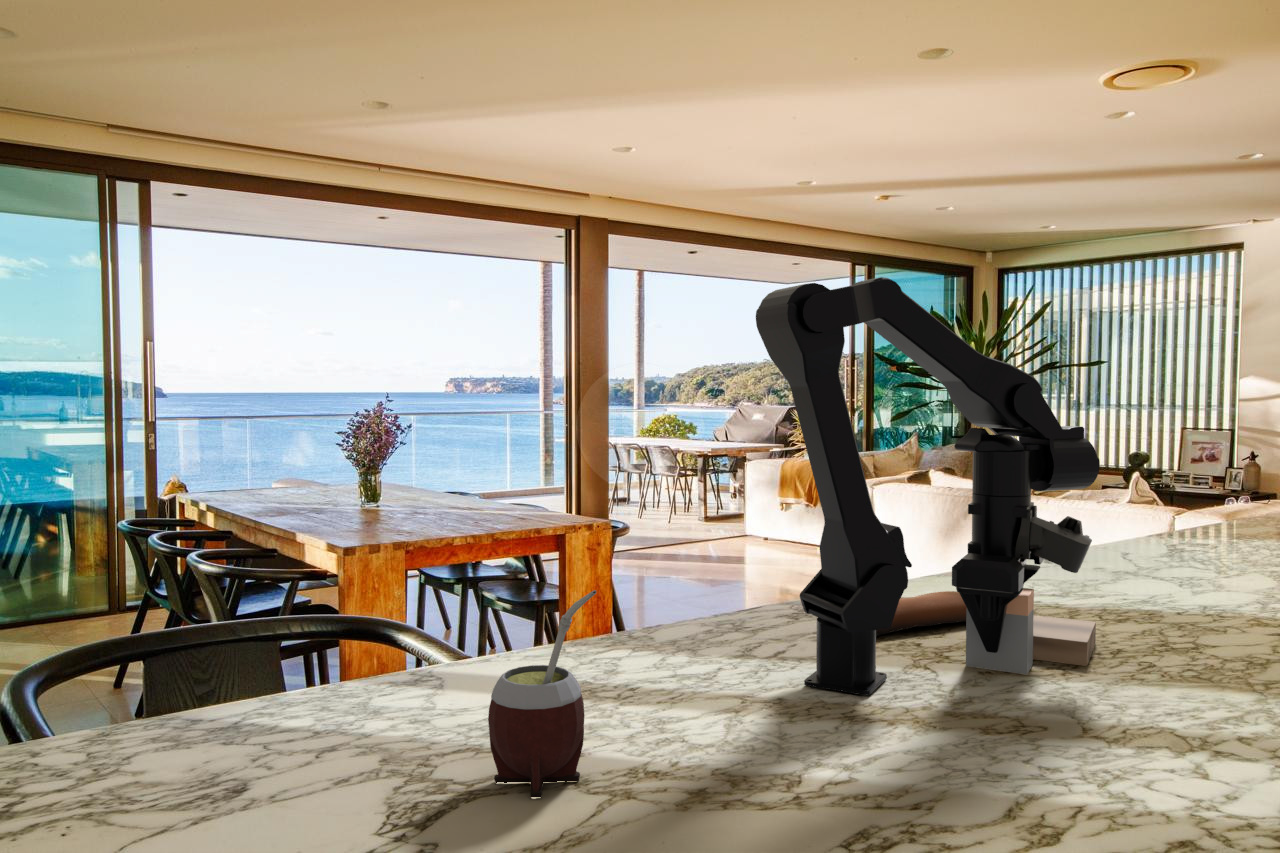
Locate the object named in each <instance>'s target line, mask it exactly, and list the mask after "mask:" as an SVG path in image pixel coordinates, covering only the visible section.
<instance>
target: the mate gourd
mask: <svg viewBox="0 0 1280 853" xmlns="http://www.w3.org/2000/svg"><path fill="white" fill-rule="evenodd" d="M596 594H597V590H596V589H595V590H592V591H591V592H589V593H587V594H586V595H584V596H582V597H581V598H579V600H577V601H575V602H574V603H573V604H572V605H570V607H569V608H568V610H567V611H566V612H565V614H563V615H562V616H561V618H560V620H559V623H558V626H557V629H558V630H557V635H556V639H555V643H554V645H553V649H552V653H551V656H550V658H549V659H550V660H549V662H548V665H547V664H535V665H534V664H532V665H525V666H524V665H523V666H517V667H515V668H511V669H509V670H507V671H506V672H504V673H502V674H501V675H500V676H499V678H498V680H497V681H496V683H495V685H494V687H493V688H492V691H491V698H490V703H489V709H488V732H489V733H488V734H489V743H490V751H491V754H492V757H493V761H494V764H495V767H496V771H497V774H494V776H493V779H494V783H495V782H496V783H497V782H504V783H507V782H531V785H530V789H529V794H530V796H529V798H530V797H541V795H542V796H543V787H542V785H543V786H544V784H543V782H557V781H565V782H567V781H579V782H580V777H581V772H579V771H577V768H578V765H579V761H580V758H581V754H582V750H583V746H584V737H585V736H584V735H585V705H584V698H583V694H582V688H581V685H580V683H579V682H578V680H577V679H576V677H575V676H574V675H573V673H572V672H571V671H569V670H568V669H567V668H564V667H562V666H561V667H560V666H557V664H558V662H559V661H558V660H559V657H560V655H561V654H560V653H561V650H562V647H563V644H564V641H565V638H566V637H565V636H566V635H567V634H566V633H567V632H568V631H569V630H570V627H571V624H572V621H573V616H574V615H575V614H576V612H577V611H579V609H580V608H581V607H583V605H584V604H586V603H587V602H588V601H589V600H591V598H592V597H594V596H595V595H596ZM541 798H542V797H541Z"/></svg>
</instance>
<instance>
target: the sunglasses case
mask: <svg viewBox="0 0 1280 853" xmlns="http://www.w3.org/2000/svg"><path fill="white" fill-rule="evenodd" d="M961 622H966V605H965V603H964V601H963V599H962V597H961V595H960V593H959V592H957V590H956V591H950V590H948V591H947V590H946V591H937V592H929V593H923V594H920V595H919V594H918V595H917V596H912V597H901V598H900V600H899V603H898V606H897V609H896V612H895V616H894V619H893V622H892V625H891V628H889V629H881V630H876V637H878V636H881V635H886V634H889V633H894V632H895V633H896V632H899V631H901V630H908V629H913V628H914V627H919V628H920V627H926V626H927V627H928V626H937V625H941V624H954V623H961Z"/></svg>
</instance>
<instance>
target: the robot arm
mask: <svg viewBox="0 0 1280 853" xmlns="http://www.w3.org/2000/svg"><path fill="white" fill-rule="evenodd" d="M755 322H756V324H755V325H756V327H757V331H758V334H759V336H760V338H761V340H762V343H763V344H764V347H765V349H766V351H767V354H768V357H769V358H770V360H772V362H773V363H774V365H775V366H776V368H777V369H778V370H779V372H780V373H781V374H782V376H783V377H784V378H785V380H786V382H788V385H789V388H790V390H791V396H792V399H793V403H794V406H795V410H796V414H797V418H798V422H799V426H800V429H801V434H802V437H803V441H804V445H805V449H806V452H807V457H808V460H809V464H810V469H811V471H812V476H813V479H814V484H815V487H816V490H817V491H816V492H817V494H818V498H819V502H820V507H821V511H822V515H823V519H824V523H823V524H824V525H823V530H822V534H821V537H820V538H821V539H820V543H819V556H820V566H821V569H819V571H817V573H816V574H815V575H814V577H813V578H811V580H810V581H809V582H808V584H806V586H805V587H804V588H803V590H802V591H801V592H800V593H799V599H800V601H801V602H800V603H801V605H802V609H803V611H804V613H805V614H808V615H812V616H814V617H817V618H816V669H815V671H814V672H813V673H812V674H810V675H809V676H807V677H806V678H805V679H804V681H803V682H804V686H807V687H812V688H813V687H814V688H819V689H826V690H830V691H838V692H843V693H850V694H856V695H862V696H869V695H871V694H872V693H873V692H874V691H875V690H876V689H877V688H879V687H880V686H881V684H883V683H884V682H885V680H887V676H888V674H887V673H886V672H881V671H880V672H879V671H877V669H876V668H877V666H876V665H877V664H876V663H877V661H876V659H877V658H876V656H877V636H876V630H881V629H889V628H891V625H892V622H893V619H894V616H895V612H896V609H897V606H898V603H899V600H900V598H902V596H903V594H904V593H905V592H904V591H905V590H907V588H908V585H909V574H908V573H909V572H908V570H907V568H912V566H913V564H912V563H911V562H910V560H909V558H908V556H907V553H906V549H905V543H904V542H905V540H904V534H903V532H902V529H901V527H900V526H896V525H892V524H887V523H883V522H881V520H880V519H879V518H878V517H877V515H876V513H875V511H874V508H873V505H872V501H871V500H872V499H871V496H870V493H869V488H868V484H867V481H866V476H865V473H864V469H863V465H862V464H863V463H862V461H861V457H860V452H859V449H858V445H857V441H856V440H857V439H856V436H855V433H854V429H853V424H852V421H851V417H850V412H849V409H848V404H847V401H846V398H845V393H844V388H843V385H842V381H841V378H840V367H841V366H840V365H841V362H842V356H843V351H844V347H845V343H846V342H845V341H846V340H845V331H844V330H845V328H847V327H852V326H856V325H859V324H863V323H864V324H865V325H866V326H868V327H869V328H870V329H872V330H873V331H874V332H875V333H877V334H878V335H879V336H881V337H882V338H883V339H884V340H885V341H887V342H888V343H890V345H892V346H893V347H895V348H896V349H897V350H899V351H900V352H901V353H903V354H904V355H905V356H907V358H909V359H911V361H913V362H914V363H916V364H917V365H918V366H919V367H921V368H922V369H923V370H925V371H926V372H927V373H929V374H930V375H931V376H932V377H934V378H935V379H936V380H938V381H939V382H940V383H941V384H942V386H944V388H945V389H946V390H947V392H948V395H949V398H950V400H951V401H950V402H951V403H952V404H953V405H954V407H955V408H956V409H957V410H958V411H959V412H960V413H961V414H962V415H963V416H964V418H965V419H966V420H967V421H968V422H969V423H970V424H972V425H974V426H976V427H970V428H969V429H968V432H966V434H965V435H964V436H963V437H961V438H960V439H959V440H958V441H956V443H955V444H954V449H955V450H956V451H964V452H965V451H966V452H972V493H971V494H972V495H971V499H972V500H971V502H970V503H968V504H967V514H968V515H971V541H969V542H968V543H967V554H966V555H965V556H963V557H962V558H960V560H958V561H957V562H955V564H954V565H952V567H951V586H952V587H955V589H956V592H959V593H960V595H961V597H962V599H963V601H964V603H965V605H966V608H967V610H968V612H969V614H970V616H971V618H972V620H973V622H974V625H975V627H976V629H977V632H978V634H979V636H980V638H981V641H982V643H983V645H984V647H985V650H986V651H987V652H992V653H997V652H998V649H999V645H1000V640H1001V635H1002V630H1003V625H1004V620H1005V615H1006V610H1007V605H1008V603H1010V602H1011V601H1012V600H1013V599H1015V598H1016V597H1018V596H1019V595H1020V593H1021V592H1022V591H1023V589H1024V588H1025V587H1024V585H1025V583H1026V582H1027V581H1028V580H1030V579H1031V578H1032V577H1034V576H1035V575H1036V574H1037V573H1038V572H1039V570H1040V569H1041V565H1042V563H1043V562H1044V560H1046V561H1048V562H1050V563H1053V564H1055V565H1058V566H1059V567H1060V568H1061V569H1062V570H1065V571H1067V572H1069V573H1072V574H1073V573H1074V574H1077V573H1078V572H1079V570H1080V569H1081V567H1082V566H1083V562H1084V560H1085V558H1086V555H1087V553H1088V552H1089V549H1090V546H1091V543H1092V542H1093V540H1092V538H1090V535H1088V534H1085V535H1084V534H1083V533H1084V532H1083V525H1082V521H1081V520H1079V519H1076V518H1074V517H1072V516H1069V515H1068V516H1066V517H1065V518H1063V519H1062V520H1061V521H1059V522H1058V523H1057V524H1056V523H1055V521H1052V520H1049V521H1048V520H1046V519H1043V518H1041V517H1038V516H1037V515H1038V514H1037V513H1038V512H1037V511H1038V507H1037V505H1035V502H1033V501H1032V490H1033V491H1035V492H1050V491H1051V492H1052V491H1054V492H1055V491H1069V490H1070V491H1071V490H1082V489H1083V490H1084V489H1087V488H1088V487H1090V486H1091V485H1093V483H1095V482H1096V480H1097V478H1098V476H1099V472H1100V466H1101V465H1100V464H1101V463H1100V460H1101V459H1100V458H1099V457H1098V454H1097V451H1096V449H1095V447H1094V446H1093V444H1092V443H1091V442H1090V441H1089V440H1088V439H1087V438H1085V428H1084V426H1076V425H1067V426H1066V425H1063V426H1061V424H1060V422H1059V420H1057V419H1058V418H1057V417H1056V416H1055V414H1054V412H1053V411H1052V409H1051V407H1050V405H1049V404H1048V402H1047V400H1046V399H1045V397H1044V396H1043V394H1042V392H1043V387H1042V385H1041V384H1040V382H1039V381H1038V380H1037V379H1036V378H1035V376H1033V375H1031V374H1030V373H1027V372H1026V371H1024V370H1023V369H1019V368H1018V367H1016V366H1014V365H1012V364H1010V363H1008V362H1004V361H1001V360H999V359H995V358H992V357H990V356H987V355H985V354H983V353H981V352H979V351H977V349H975V347H973V346H972V345H970V344H969V343H967V341H965V340H964V339H963V338H962V337H960V336H959V335H958V334H956V333H955V332H954V331H953V330H952V329H950V328H949V327H948V326H946V325H945V323H942V322H941V321H940V320H939V319H937V317H935V316H934V315H933V314H931V313H930V312H929V311H928V310H926V309H925V308H924V307H923V306H921V305H920V304H919V303H917V301H915V300H914V299H913V298H911V297H910V296H909V295H907V294H906V293H905V292H904V291H902V287H901V286H900V285H899V284H898V282H896V281H894V280H893V279H891V278H889V277H883V276H880V277H876V278H870V279H865V280H861V281H858V282H855V283H853V284H852V285H849V286H842V287H839V288H838V287H837V288H833V289H830V288H828V287H826V286H825V285H823V284H822V283H820V284H819V283H816V282H812V283H803V284H799V285H794V286H789V287H785V288H779V289H776V290H772V292H769V293H767V295H765V297H763V299H762V301H761V302H760V304H759V306H758V308H757V309H756V311H755ZM986 428H987V429H988V430H990V431H991V432H993V433H994V434H990V433H989V432H988V430H987V429H986ZM1017 437H1018V439H1017ZM1027 560H1032V561H1033V562H1034V563H1033V564H1027Z"/></svg>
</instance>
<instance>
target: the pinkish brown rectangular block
mask: <svg viewBox="0 0 1280 853" xmlns="http://www.w3.org/2000/svg"><path fill="white" fill-rule="evenodd" d="M1096 627H1097V622H1096V621H1090V620H1081V619H1074V618H1073V619H1072V618H1065V617H1064V618H1063V617H1054V616H1045V615H1035V614H1034V617H1033V660H1036V661H1037V660H1038V661H1045V662H1051V663H1060V664H1067V665H1076V666H1083V667H1087V666H1088V664H1089V662H1090V659H1091V657H1092V654H1093V652H1092V651H1094V649H1095V646H1096V640H1097V639H1096V633H1097V628H1096Z"/></svg>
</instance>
